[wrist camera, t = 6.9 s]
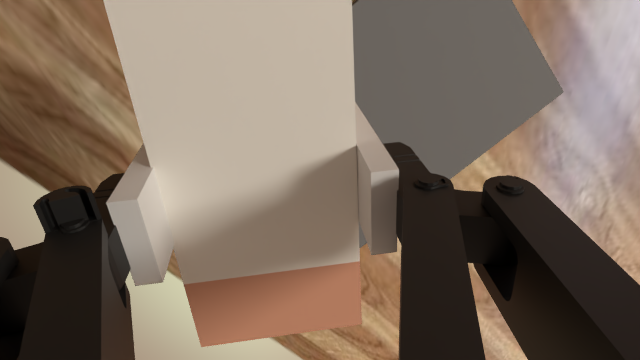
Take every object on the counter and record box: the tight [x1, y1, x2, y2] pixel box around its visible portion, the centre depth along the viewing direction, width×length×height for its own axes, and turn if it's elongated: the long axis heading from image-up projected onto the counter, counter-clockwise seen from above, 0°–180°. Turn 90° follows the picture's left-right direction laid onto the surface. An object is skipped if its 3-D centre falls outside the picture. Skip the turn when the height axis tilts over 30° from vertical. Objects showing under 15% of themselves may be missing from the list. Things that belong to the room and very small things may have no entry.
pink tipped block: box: [103, 0, 362, 347], centre depth 15 cm, size 12×6×5 cm, turn 4°
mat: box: [352, 0, 563, 248], centre depth 34 cm, size 17×22×1 cm
